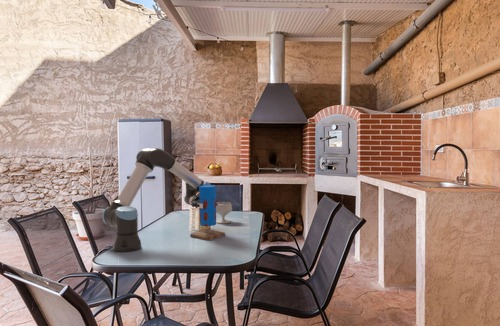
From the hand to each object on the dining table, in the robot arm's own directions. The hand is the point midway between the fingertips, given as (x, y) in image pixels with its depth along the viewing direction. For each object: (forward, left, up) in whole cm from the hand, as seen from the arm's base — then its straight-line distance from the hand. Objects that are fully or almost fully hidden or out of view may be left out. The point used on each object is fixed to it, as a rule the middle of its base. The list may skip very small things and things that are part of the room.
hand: (210, 205), depth 223 cm
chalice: (+40, +26, -21) cm, 52 cm away
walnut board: (+1, +4, -21) cm, 21 cm away
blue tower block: (+1, +4, -13) cm, 14 cm away
